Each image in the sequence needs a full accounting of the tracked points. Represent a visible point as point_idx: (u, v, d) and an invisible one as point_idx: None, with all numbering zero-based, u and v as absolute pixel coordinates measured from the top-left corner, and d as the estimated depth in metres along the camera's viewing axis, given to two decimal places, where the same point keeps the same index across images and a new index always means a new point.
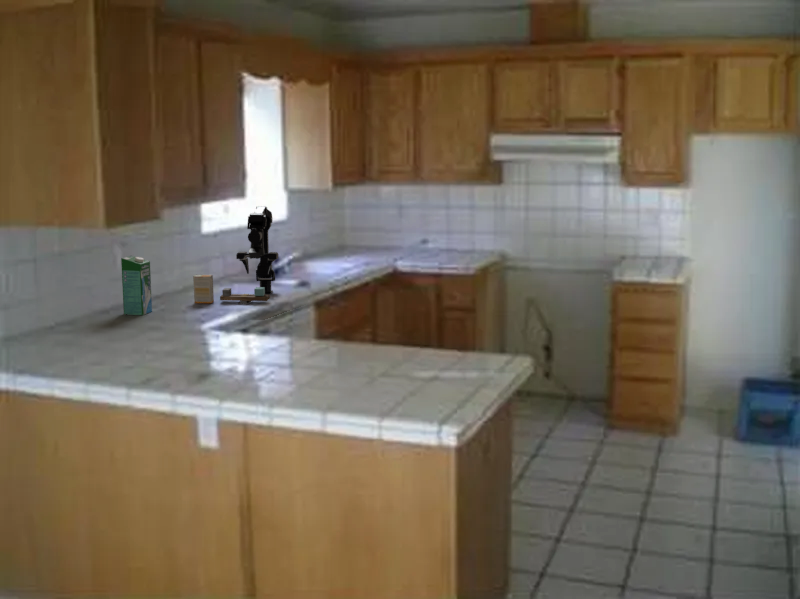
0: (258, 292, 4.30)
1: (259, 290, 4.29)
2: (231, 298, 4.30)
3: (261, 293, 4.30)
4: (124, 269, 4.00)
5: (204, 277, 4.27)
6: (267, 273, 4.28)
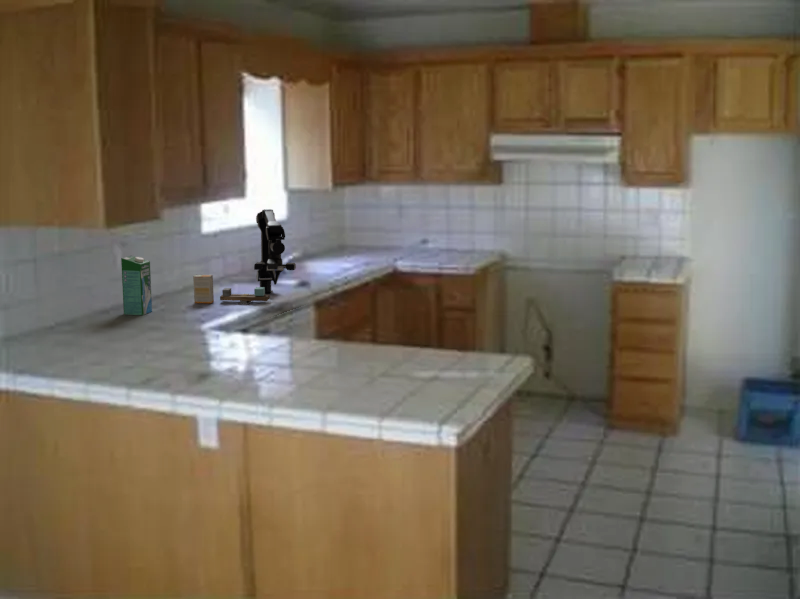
0: (258, 292, 4.30)
1: (259, 290, 4.29)
2: (231, 298, 4.30)
3: (261, 293, 4.30)
4: (124, 269, 4.00)
5: (204, 277, 4.27)
6: (275, 283, 4.31)
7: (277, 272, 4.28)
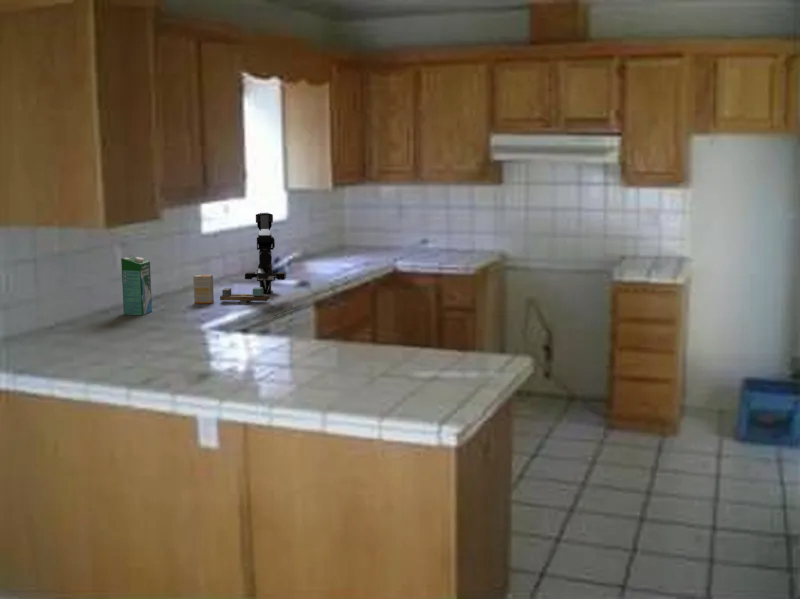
0: (256, 292, 4.30)
1: (257, 290, 4.29)
2: (231, 298, 4.30)
3: (259, 293, 4.30)
4: (124, 269, 4.00)
5: (204, 277, 4.27)
6: (266, 293, 4.32)
7: (268, 282, 4.29)
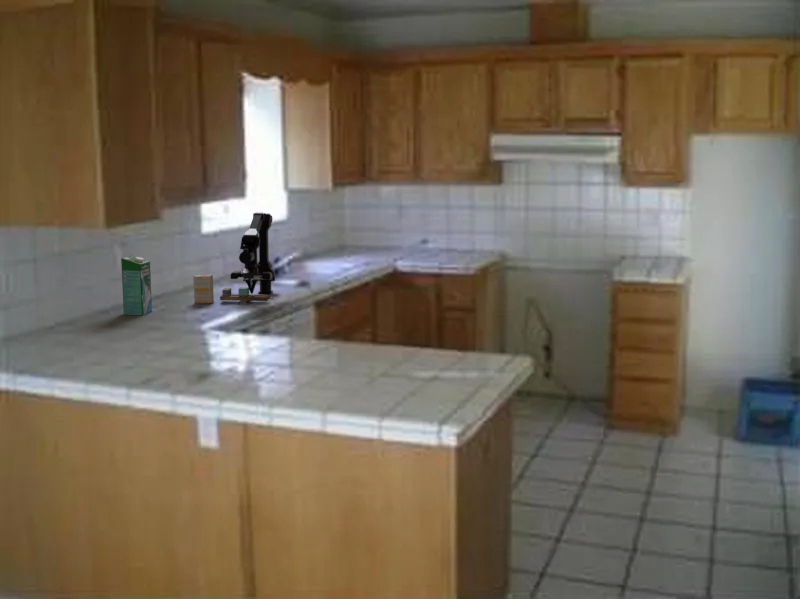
0: (242, 292, 4.30)
1: (243, 290, 4.30)
2: (231, 298, 4.30)
3: (245, 293, 4.30)
4: (124, 269, 4.00)
5: (204, 277, 4.27)
6: (252, 292, 4.32)
7: (253, 281, 4.29)
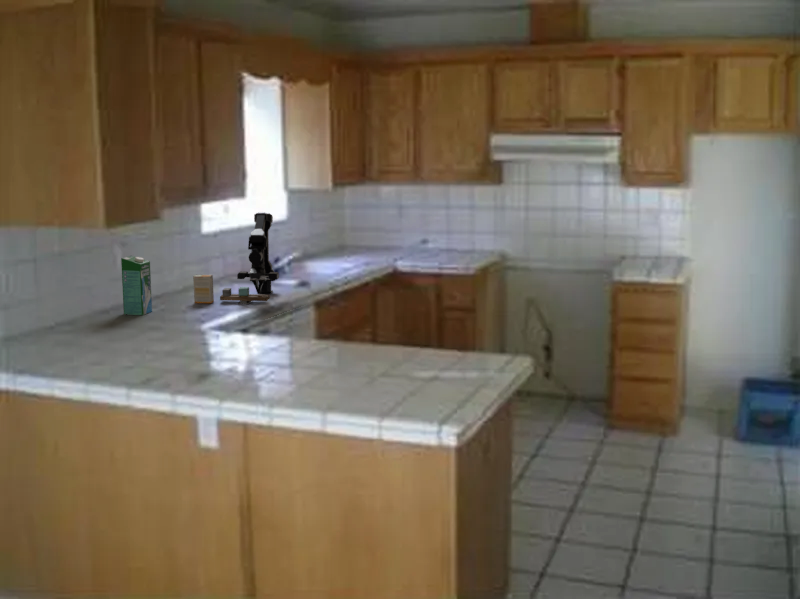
0: (242, 292, 4.30)
1: (243, 290, 4.30)
2: (231, 298, 4.30)
3: (245, 293, 4.30)
4: (124, 269, 4.00)
5: (204, 277, 4.27)
6: (258, 293, 4.32)
7: (260, 281, 4.29)
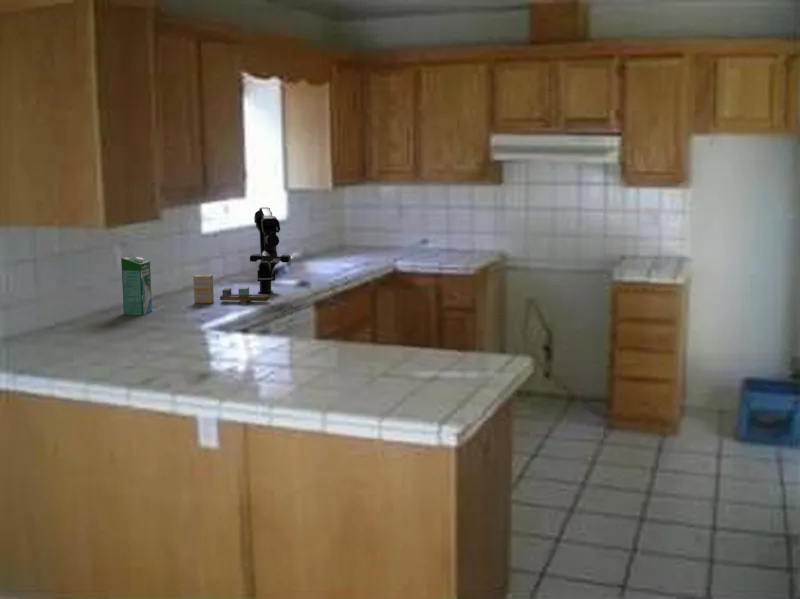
0: (242, 292, 4.30)
1: (243, 290, 4.30)
2: (231, 298, 4.30)
3: (245, 293, 4.30)
4: (124, 269, 4.00)
5: (204, 277, 4.27)
6: (270, 275, 4.37)
7: (272, 264, 4.34)
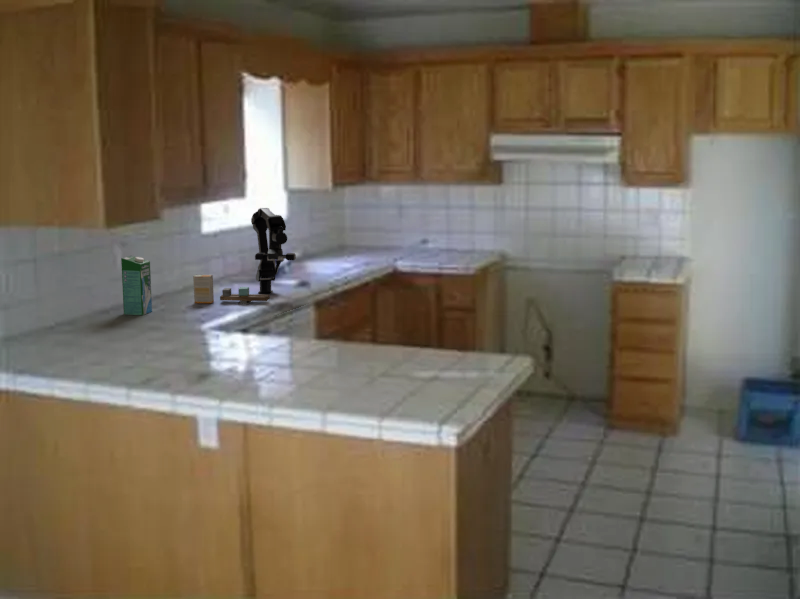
0: (242, 292, 4.30)
1: (243, 290, 4.30)
2: (231, 298, 4.30)
3: (245, 293, 4.30)
4: (124, 269, 4.00)
5: (204, 277, 4.27)
6: (276, 273, 4.40)
7: (277, 262, 4.37)
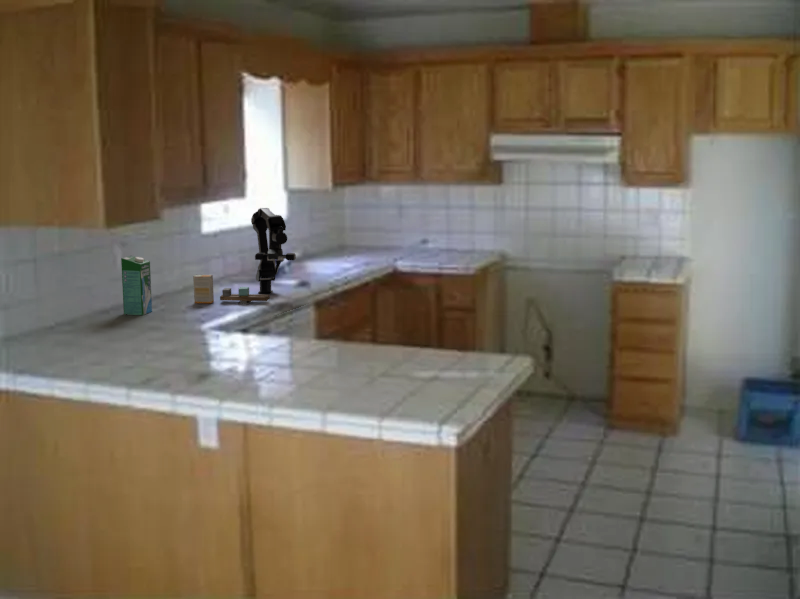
0: (242, 292, 4.30)
1: (243, 290, 4.30)
2: (231, 298, 4.30)
3: (245, 293, 4.30)
4: (124, 269, 4.00)
5: (204, 277, 4.27)
6: (276, 273, 4.40)
7: (277, 262, 4.37)
